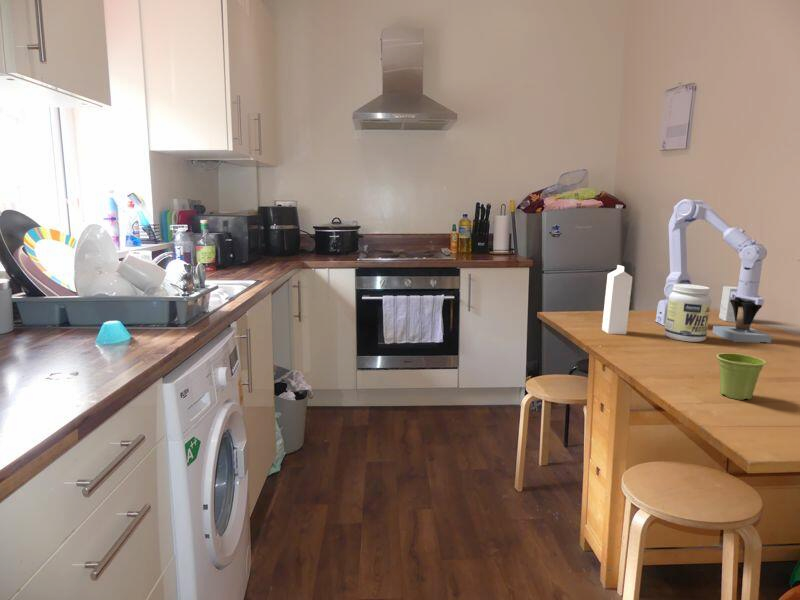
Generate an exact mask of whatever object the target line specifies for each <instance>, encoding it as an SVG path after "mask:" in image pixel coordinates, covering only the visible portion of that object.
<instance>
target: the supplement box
mask: <svg viewBox="0 0 800 600" xmlns="http://www.w3.org/2000/svg"><path fill="white" fill-rule="evenodd" d="M737 290H738V286H728V285H725V286H722V294H721V299H720V300H721V301H720V307H719V315H718V318H719V319H720V320H722V321H724V322H729V323H736V321H735V316H734V310H733V307H732V304H731V302H730V300H734V299H735V298H732V297H730V295H731V291H733V292H737Z"/></svg>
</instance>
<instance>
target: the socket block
mask: <svg viewBox="0 0 800 600" xmlns="http://www.w3.org/2000/svg"><path fill="white" fill-rule="evenodd" d="M735 327H736V326H729V325H728V326H726V325H713V326H712V334H713V335H716V336H719V337H721V338H723V339H725V340H728V341H731V343H755V344H761V343H760V342H767V343H766V344H771V343H772V336H773V335H771V334H769V333H767V332H763V331H760V330H757V329H755V328H752V327H750V330H739V329H736V328H735Z"/></svg>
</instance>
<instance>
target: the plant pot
mask: <svg viewBox="0 0 800 600" xmlns="http://www.w3.org/2000/svg"><path fill="white" fill-rule="evenodd" d="M716 358H717V361H718V365H719V390H720V394H721V395H724V396H726V397H727V398H730V399H734V400H740V401H743V400H745V399H746V400H752V398H753V395H754V391H755V388H756V385H757V383H758V380H759V379H758V378H759V375H760V373H761V371H762V369H763V367H764V366H765V365H766V364H767V362H766V361H765V359H762V358H759V357H756V356H752V355H748V354H741V353H734V352H732V353H731V352H728V353H727V352H722V353H718V354H716Z"/></svg>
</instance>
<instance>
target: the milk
mask: <svg viewBox="0 0 800 600" xmlns="http://www.w3.org/2000/svg"><path fill="white" fill-rule="evenodd" d="M606 277H607V278H606V285H605V295H604V306H603V307H604V308H603V316H602V323H601V330H602V331H603V332H605V333H607V334H608V335H609V334H611V335H627V331H628V329H627V328H628V322H629V321H628V320H629V313H630V311H629V310H630V304H631V294H632V293H631V292H632V285H633V276H632V275H630V274H629V273H627V272H626V271H625V266H623V265H620V264H617V265H616V269H615V270H613V271H610V272H609V273H607V276H606Z"/></svg>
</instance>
